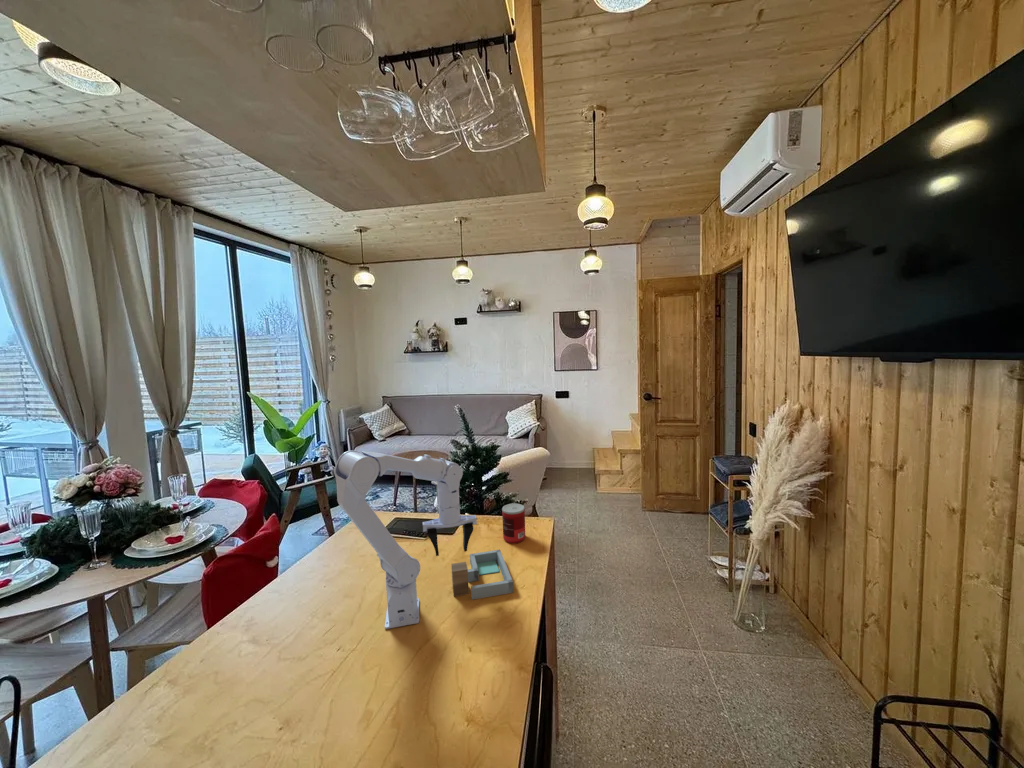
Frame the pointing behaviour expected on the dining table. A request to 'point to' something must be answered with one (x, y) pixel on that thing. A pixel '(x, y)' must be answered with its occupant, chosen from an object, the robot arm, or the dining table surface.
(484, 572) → the pad
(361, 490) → the robot arm
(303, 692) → the dining table surface
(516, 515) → the canned food
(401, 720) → the dining table surface
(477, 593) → the grey open rectangular frame
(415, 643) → the dining table surface
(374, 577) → the dining table surface
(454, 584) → the block
